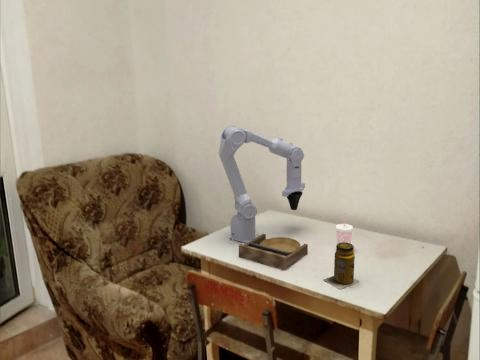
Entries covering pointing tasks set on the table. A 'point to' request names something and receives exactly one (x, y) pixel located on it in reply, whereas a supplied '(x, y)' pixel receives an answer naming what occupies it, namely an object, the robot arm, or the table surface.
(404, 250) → the table surface
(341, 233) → the beverage cup
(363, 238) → the table surface
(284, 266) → the brown wooden open box
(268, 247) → the pusher plate
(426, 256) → the table surface
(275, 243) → the plant saucer
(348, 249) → the condiment
